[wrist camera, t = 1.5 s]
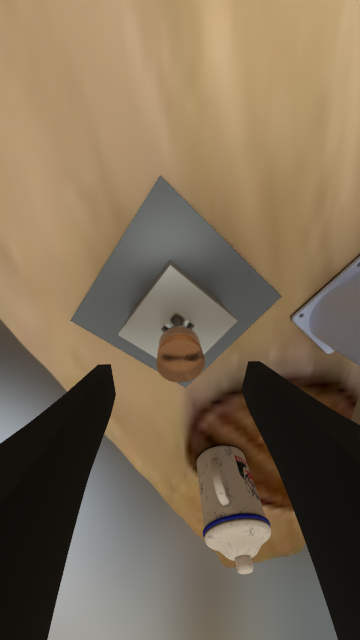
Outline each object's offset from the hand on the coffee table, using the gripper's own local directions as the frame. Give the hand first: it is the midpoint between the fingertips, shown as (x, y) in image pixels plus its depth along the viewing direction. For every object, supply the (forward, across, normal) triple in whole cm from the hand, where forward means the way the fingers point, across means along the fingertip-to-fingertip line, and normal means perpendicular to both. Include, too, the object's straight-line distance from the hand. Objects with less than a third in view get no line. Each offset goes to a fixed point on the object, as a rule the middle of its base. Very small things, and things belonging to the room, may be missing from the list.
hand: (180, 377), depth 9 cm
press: (+10, 0, 0) cm, 11 cm away
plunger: (+7, 0, 0) cm, 7 cm away
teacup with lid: (+11, -8, +27) cm, 30 cm away
